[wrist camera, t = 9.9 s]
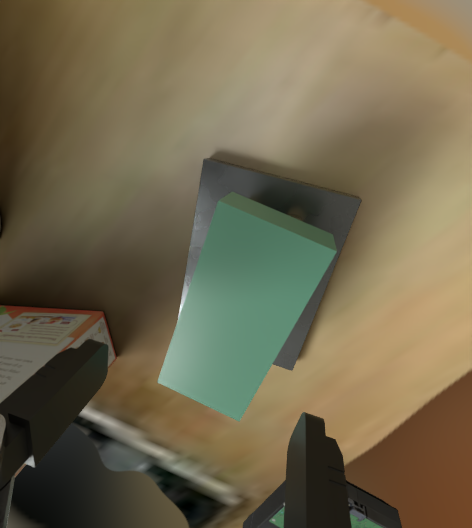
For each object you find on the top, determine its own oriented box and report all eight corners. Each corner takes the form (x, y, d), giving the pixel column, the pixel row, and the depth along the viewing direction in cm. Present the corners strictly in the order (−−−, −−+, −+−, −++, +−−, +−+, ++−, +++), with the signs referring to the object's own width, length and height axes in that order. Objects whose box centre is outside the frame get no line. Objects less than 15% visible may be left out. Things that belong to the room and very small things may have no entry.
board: (232, 191, 15) (218, 200, 13) (332, 234, 15) (337, 251, 12) (174, 355, 20) (157, 382, 18) (247, 389, 20) (239, 421, 18)
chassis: (180, 324, 25) (153, 363, 21) (208, 158, 20) (178, 163, 15) (292, 362, 24) (288, 412, 20) (359, 197, 18) (374, 215, 14)
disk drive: (320, 558, 35) (399, 505, 28) (320, 590, 33) (407, 540, 26) (243, 516, 36) (303, 454, 29) (238, 545, 33) (302, 484, 26)
